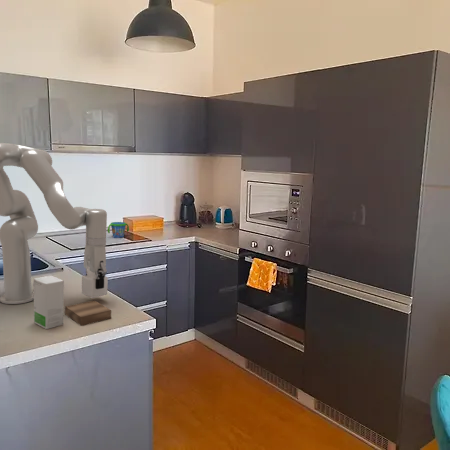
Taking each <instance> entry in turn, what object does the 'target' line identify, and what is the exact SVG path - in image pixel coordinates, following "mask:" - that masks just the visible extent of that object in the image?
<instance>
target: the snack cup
mask: <svg viewBox="0 0 450 450" xmlns="http://www.w3.org/2000/svg"><path fill="white" fill-rule="evenodd" d="M129 227H130V226H129V224H128V223H127V222H123V221H114V222H113V221H111V222H110V224H109V225H108V226H107V234H110V233H112V237H113V238H114V239H120V238H124V237H125V231H126V232H130V228H129ZM110 229H111V230H110Z"/></svg>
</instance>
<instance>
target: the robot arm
mask: <svg viewBox="0 0 450 450" xmlns="http://www.w3.org/2000/svg"><path fill="white" fill-rule="evenodd" d="M52 165H53V158H52V156H51V154H50V153H49V152H48V151H46V150H43V149H38V148H33V147H29V146H26V145H25V146H24V145H21V144H15V143H8V142H6V143H5V142H0V217H9V219H8V220H6V221H5V222H3V224H2V225H1V226H0V245H1V253H2V266H3V267H2V268H3V270H2V271H3V272H2V273H3V289H4V291H3V292H4V294H2V296H0V303H2V304H6V305H19V304H25V303H30V302H32V301H34V291H33V292H32V265H31V264H32V263H31V251H30V247H29V246H30V245H29V242H28V240H31V239H33V238H34V237H36V236H37V233H38V231H39V224H38V220H37V218H36V215H35V212H34V210H33V207H32V203H31V201H30V198H29V197H28V196H27V195H26V193H24V192H23V191H21V190H20V189H19V190H18V189H14V188H13V186H12V182H11V180H10V178H9V176H8V174H7V173H6V171H5V169H4V167H7V166H8V167H11V166H12V167H18V168H22V169H23V170H24V171H25V172H26V173H27V175H28V176H29V177H30V178H31V180H32V181H33V182H34V183H35V185H36V186H37V188H38V189H39V190H40V191H41V193H42V195H43V197H44V201H45V202H46V205H47V207H48V209H49V211H50V212H51V214H52V215H53V216H54V218H55V219H56V220H57V221H58V223H59V224H60V226H62V227H64V229H67V230H75V229H78V228H80V227H83V226H85V244H84V245H85V246H84V253H83V254H84V255H83V268H84V269H85V275H87V266H89V267H90V271H91V272H93V273H95V272H96V276H97V279H96V289H102V288H104V278H105V276H106V274H107V271H108V270H107V267H106V266H107V255H106V254H107V251H106V246H107V228H108V226H107V223H108V222H107V221H108V217H107V216H108V213H107V211H106V210H105V209H102V208H87V207H82V206H75V207H73V205H72V204H71V203H70V202H69V200H68V198H67V196H66V194H65V191H64V181H63V179H62V178H61V177H60V175H59V174H58V172H57V171H56V170H55V169H54V168H53V166H52ZM98 269H101V270H100V271H98ZM99 273H100V275H99Z"/></svg>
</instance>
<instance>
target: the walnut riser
mask: <svg viewBox="0 0 450 450" xmlns="http://www.w3.org/2000/svg"><path fill="white" fill-rule="evenodd" d="M64 310H65V312H64V316H67V317H68V318H70V319H71V320H72V321H74V322H75V323H76V324H78V325H80V326H85V325H88V324H89V323H90V324H94V323H97V321H98V322H101V321H106V320H109V319H112V310H111V309H110V308H109V307H106V306H104V305H103V304H102V303H99V302H98V301H96V300H89V301H86V302H80V303H75V304H70V305H66V306H64ZM105 319H106V320H105ZM93 322H94V323H93Z"/></svg>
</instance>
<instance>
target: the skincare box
mask: <svg viewBox="0 0 450 450" xmlns="http://www.w3.org/2000/svg"><path fill="white" fill-rule="evenodd" d="M64 286H65V282H64V280H63V279H61V278H59V277H56V276H53V275H49V274H48V275H45V276H41V277H35V278H33V293H34V300H33V323H34V324H35V325H38V326H39V327H41V328H43V329H45V330H49V329H51V328H56V327H59V326H62V325H64V307H65V306H64V304H65V303H64V300H65V299H64V295H65V294H64V291H65V290H64V289H65V287H64Z"/></svg>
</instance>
